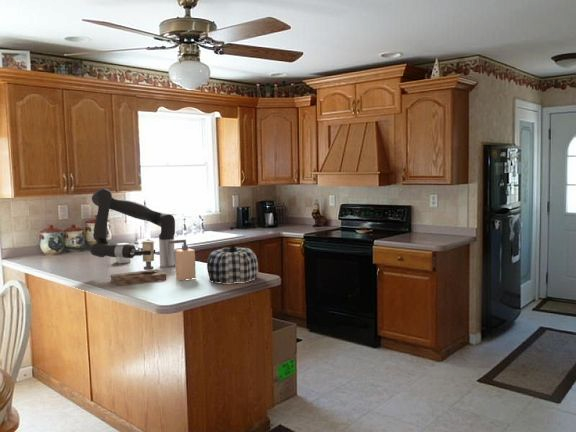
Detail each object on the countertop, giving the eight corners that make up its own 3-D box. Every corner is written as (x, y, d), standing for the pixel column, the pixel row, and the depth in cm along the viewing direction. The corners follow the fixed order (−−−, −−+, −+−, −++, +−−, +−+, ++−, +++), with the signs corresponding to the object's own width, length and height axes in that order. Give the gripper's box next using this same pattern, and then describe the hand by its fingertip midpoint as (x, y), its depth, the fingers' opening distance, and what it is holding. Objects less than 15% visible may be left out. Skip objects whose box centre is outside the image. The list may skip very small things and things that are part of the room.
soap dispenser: (190, 276, 295) (189, 238, 293) (195, 279, 288) (194, 239, 286) (168, 279, 289) (167, 239, 287) (173, 281, 282) (172, 241, 280)
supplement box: (119, 263, 340) (118, 244, 339) (115, 262, 346) (115, 243, 345) (130, 262, 344) (129, 243, 343) (126, 261, 350) (126, 242, 349)
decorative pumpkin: (222, 287, 266) (221, 249, 264) (196, 278, 289) (195, 243, 288) (269, 280, 283) (269, 243, 281) (242, 272, 307) (241, 238, 305)
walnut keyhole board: (157, 275, 300) (157, 269, 300) (166, 279, 287) (166, 273, 287) (111, 280, 287) (110, 274, 286) (118, 285, 273) (118, 279, 273)
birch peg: (146, 267, 292) (146, 240, 291) (155, 268, 291) (154, 240, 290) (142, 269, 287) (141, 241, 286) (150, 270, 286) (150, 242, 285)
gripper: (117, 246, 285) (146, 247, 281) (131, 243, 298) (158, 243, 295) (118, 260, 285) (146, 261, 281) (131, 255, 299) (159, 256, 295)
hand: (152, 252), depth 288 cm, fingers closed on birch peg, 4 cm apart
